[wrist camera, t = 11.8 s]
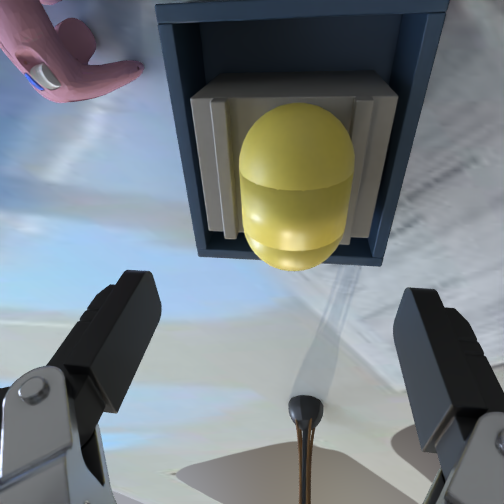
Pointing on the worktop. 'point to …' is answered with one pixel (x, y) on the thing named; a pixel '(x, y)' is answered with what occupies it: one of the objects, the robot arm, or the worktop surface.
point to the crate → (301, 60)
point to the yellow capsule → (295, 185)
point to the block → (280, 93)
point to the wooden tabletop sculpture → (305, 438)
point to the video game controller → (58, 54)
